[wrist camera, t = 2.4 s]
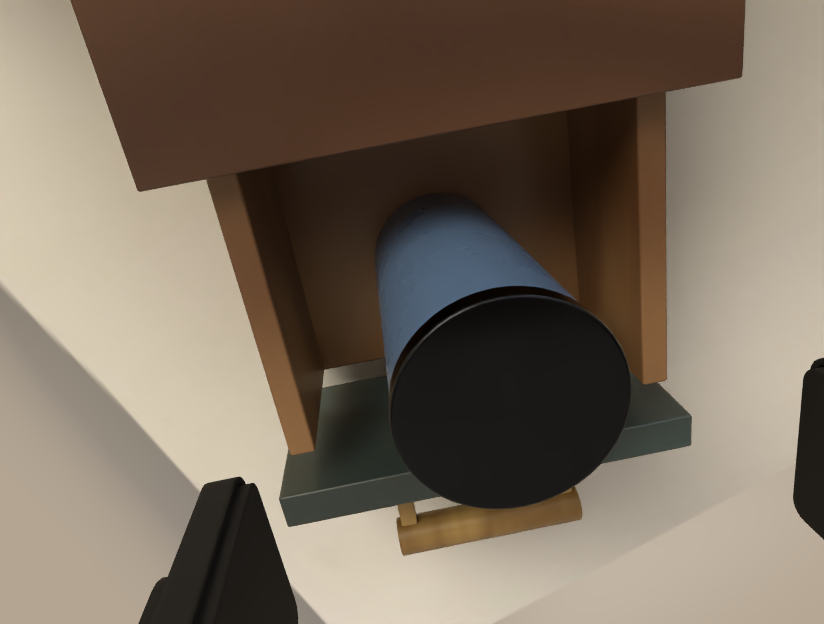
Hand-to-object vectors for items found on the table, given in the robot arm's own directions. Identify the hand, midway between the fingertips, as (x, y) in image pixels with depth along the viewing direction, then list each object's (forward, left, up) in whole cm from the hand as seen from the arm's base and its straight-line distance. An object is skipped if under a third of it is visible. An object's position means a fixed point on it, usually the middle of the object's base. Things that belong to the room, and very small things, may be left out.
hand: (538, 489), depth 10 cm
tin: (0, 0, -13) cm, 13 cm away
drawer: (+1, 0, -14) cm, 14 cm away
